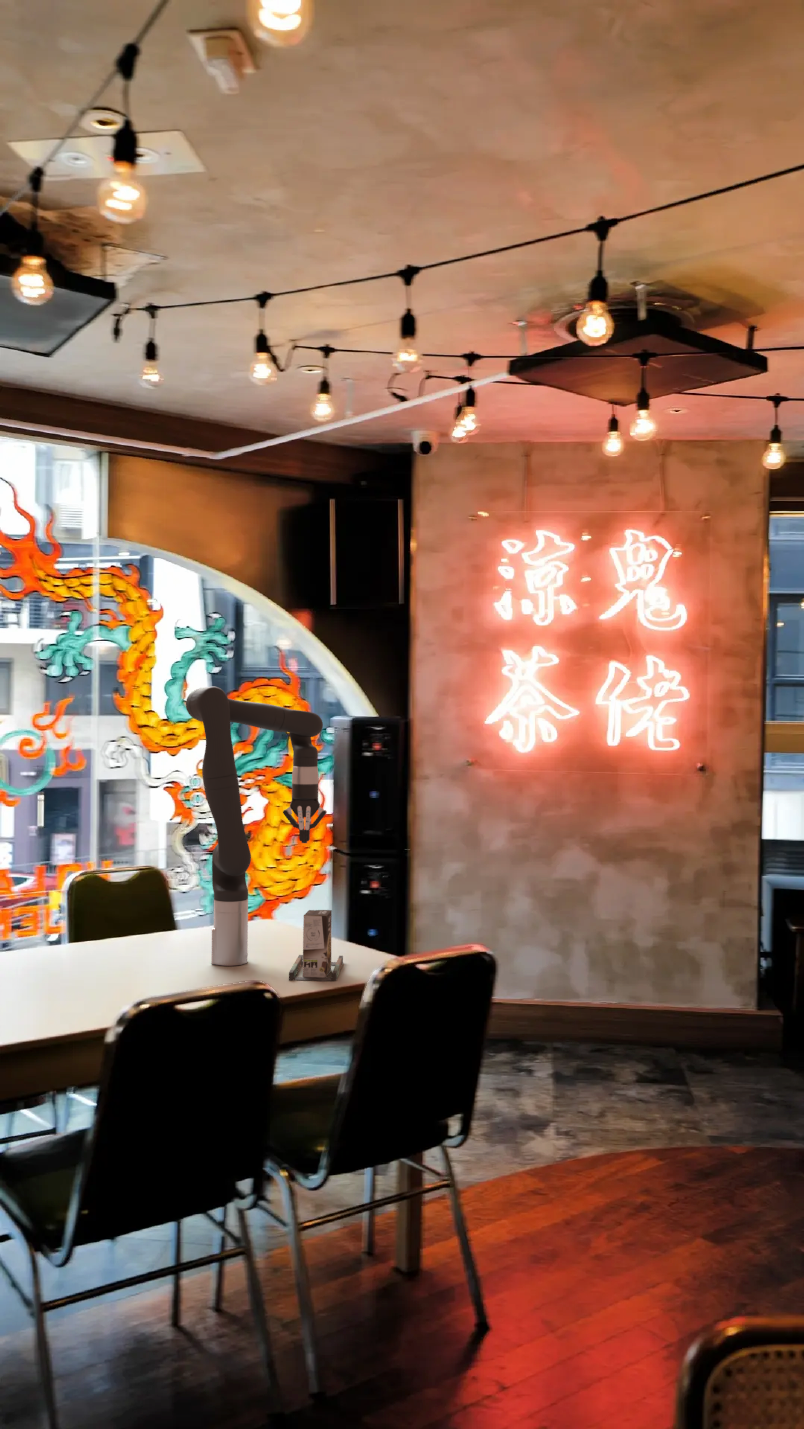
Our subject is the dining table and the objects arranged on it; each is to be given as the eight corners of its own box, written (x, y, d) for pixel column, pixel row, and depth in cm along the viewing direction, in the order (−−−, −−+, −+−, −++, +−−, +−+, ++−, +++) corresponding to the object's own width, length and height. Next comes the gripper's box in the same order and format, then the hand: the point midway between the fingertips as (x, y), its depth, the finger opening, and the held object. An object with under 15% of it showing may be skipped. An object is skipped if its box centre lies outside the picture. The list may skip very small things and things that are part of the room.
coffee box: (326, 978, 290) (327, 915, 290) (301, 977, 291) (302, 914, 291) (332, 970, 299) (332, 909, 299) (308, 969, 300) (308, 908, 300)
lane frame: (288, 980, 287) (288, 972, 287) (299, 962, 308) (299, 954, 308) (335, 981, 287) (335, 973, 287) (342, 962, 308) (342, 955, 308)
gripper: (280, 782, 319) (279, 844, 319) (326, 783, 318) (326, 844, 318) (283, 781, 326) (283, 841, 326) (329, 781, 326) (328, 841, 326)
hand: (304, 842), depth 322 cm, fingers closed
